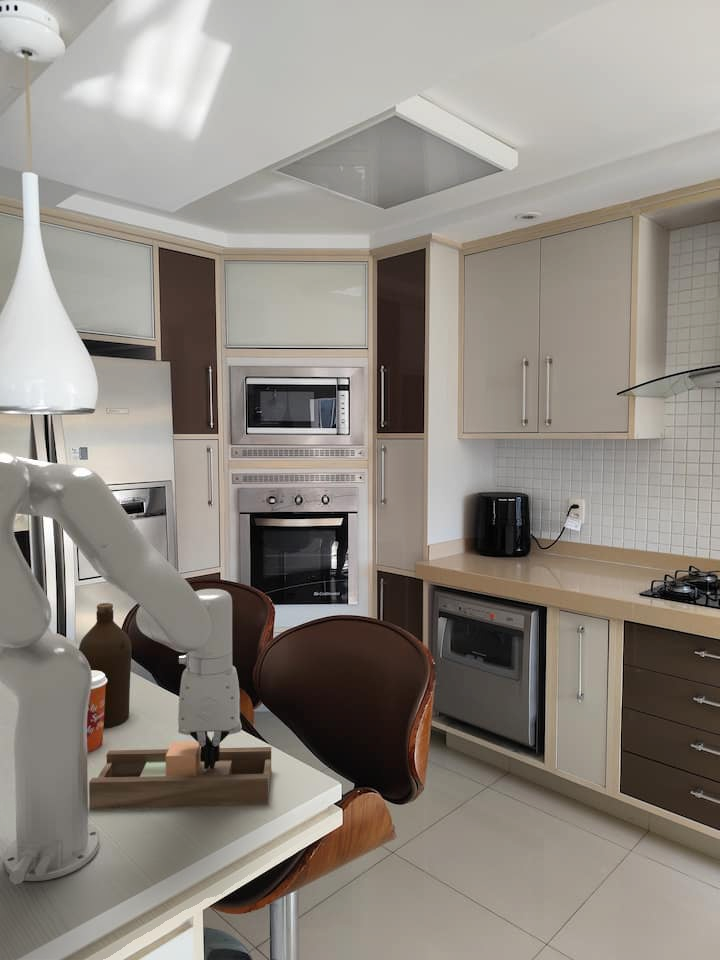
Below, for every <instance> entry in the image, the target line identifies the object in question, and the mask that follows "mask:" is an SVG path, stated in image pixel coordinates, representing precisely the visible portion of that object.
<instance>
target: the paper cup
mask: <svg viewBox="0 0 720 960" xmlns="http://www.w3.org/2000/svg"><path fill="white" fill-rule="evenodd" d="M91 673H92V685H91V692H90V698H89V704H88V714H87V753H89V752H88V751H90V752H93V751H95V750H97V749H100V748H101V746H102V745H103V740H104V738H103V737H104V728H103V726H104V707H105V687H106V683H107V678H106V677H105V674H104V673H103V672H101V671H95V670H91Z"/></svg>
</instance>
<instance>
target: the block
mask: <svg viewBox="0 0 720 960" xmlns="http://www.w3.org/2000/svg"><path fill="white" fill-rule="evenodd" d="M168 749H169V750H168V752H167V754H166V776H190V775H197V772H198V769H199V766H200V749H201V746H199V743H198V742H197V741H177V742H176V741H175V742H171V743H170V745H169V748H168Z"/></svg>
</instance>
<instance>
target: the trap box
mask: <svg viewBox="0 0 720 960" xmlns="http://www.w3.org/2000/svg"><path fill="white" fill-rule="evenodd" d="M168 750H169V748H168V749H167V748H165V749H163V748H162V749H161V748H160V749H158V748H157V749H125V750H124V749H117V750H115V749H112V750H109V749H108V751H107V753H106V762H105V765H104V766H103V768H102V769H101V772H100V773H99V775H98V776H97V777H92V778H91V779H90V780H89V783H88V796H89V797H88V810H107V809H141V808H142V809H144V808H172V807H173V808H176V807H177V808H178V807H179V808H180V807H181V808H182V807H210V806H212V807H215V806H245V805H252V806H253V805H268V804H269V796H270V786H271V785H270V784H271V777H272V776H271V775H272V746H264V747H263V746H261V747H259V746H257V747H256V746H255V747H254V746H253V747H251V746H250V747H220V756H219V761H216V763H215V766H214V769H211V768H210V767H209V768H208V769H204V762H201V748H200V766H199V769H198V772H197V775H190V776H166V754H167V752H168Z"/></svg>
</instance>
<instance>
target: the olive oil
mask: <svg viewBox="0 0 720 960" xmlns="http://www.w3.org/2000/svg"><path fill="white" fill-rule="evenodd" d="M96 609H97V610H96V622H95V624H94V625H93V626H92V628H90V629H89V630H88V632H87V633H86V634H85V635H84V636H83V637H82V639H81V640H80V644H79V646H78V650H80V651H81V652H82V653H83V655H84V656H85V657H86V659H87V661H88V663H89V665H90V668H91V670H95V671H101V672H103V673H104V674H105V677H106V678H107V683H106V687H105V707H104V726H103V729H107V728H108V729H109V728H113V727H117V726H119V725H122V724H123V723H125V722H126V721H127V720H128V719H129V717H130V692H131V691H130V690H131V672H132V671H131V670H132V669H131V667H132V655H133V654H132V649H133V647H132V641H131V639H130V637H129V634H127V632H125V631H124V630H123V628H121V626H120V625H118V624H117V623H116V622H115V621H114V610H113V609H114V604H113V603H109V602H105V603H104V602H102V603H99V604H97V605H96Z"/></svg>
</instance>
